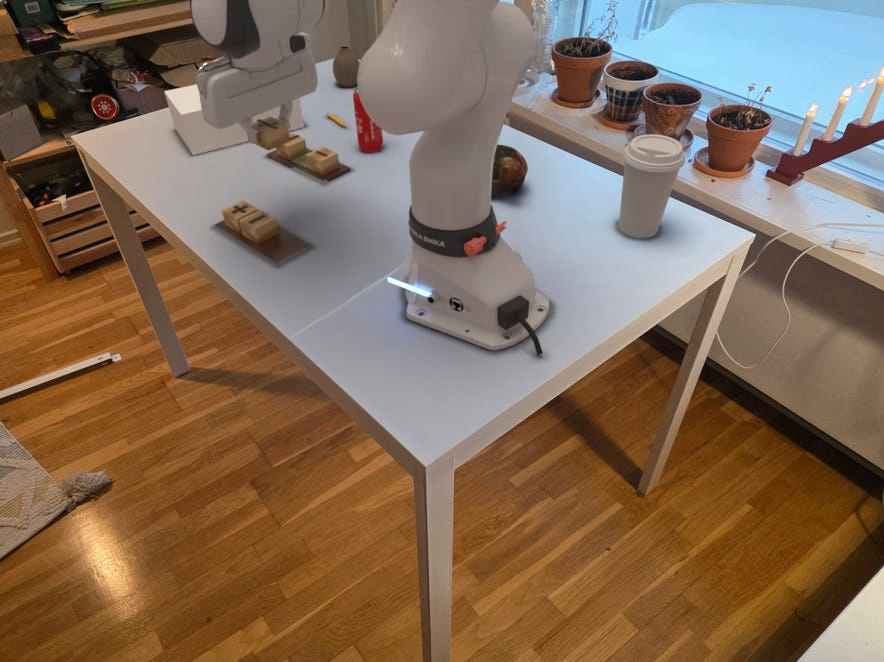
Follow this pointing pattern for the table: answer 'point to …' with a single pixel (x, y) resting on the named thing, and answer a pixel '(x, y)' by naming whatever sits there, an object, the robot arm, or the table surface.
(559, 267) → the table surface
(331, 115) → the pencil
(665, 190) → the coffee cup
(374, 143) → the beverage can
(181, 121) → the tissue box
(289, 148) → the strip
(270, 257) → the strip
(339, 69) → the vase
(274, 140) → the wooden block
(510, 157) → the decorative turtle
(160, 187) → the table surface
